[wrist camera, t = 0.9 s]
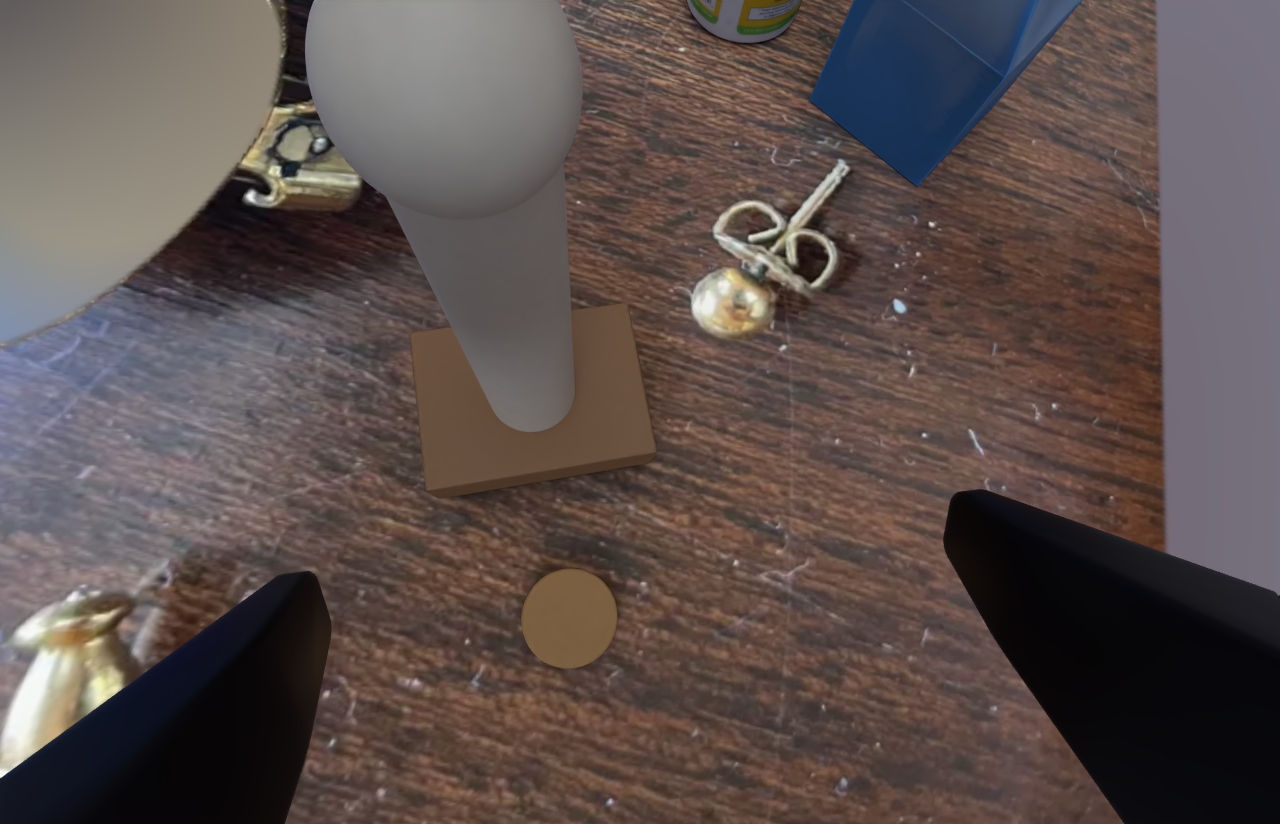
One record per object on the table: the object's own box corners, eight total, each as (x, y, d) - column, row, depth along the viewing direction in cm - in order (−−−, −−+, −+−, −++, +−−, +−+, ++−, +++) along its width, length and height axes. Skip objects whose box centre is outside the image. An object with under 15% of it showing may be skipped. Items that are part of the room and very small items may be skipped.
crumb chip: (633, 637, 22) (634, 638, 21) (548, 684, 22) (546, 688, 21) (591, 552, 23) (591, 551, 22) (507, 596, 22) (504, 596, 21)
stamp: (649, 469, 24) (816, 141, 7) (445, 504, 23) (17, 229, 6) (623, 334, 25) (705, -230, 8) (429, 362, 24) (46, -208, 7)
